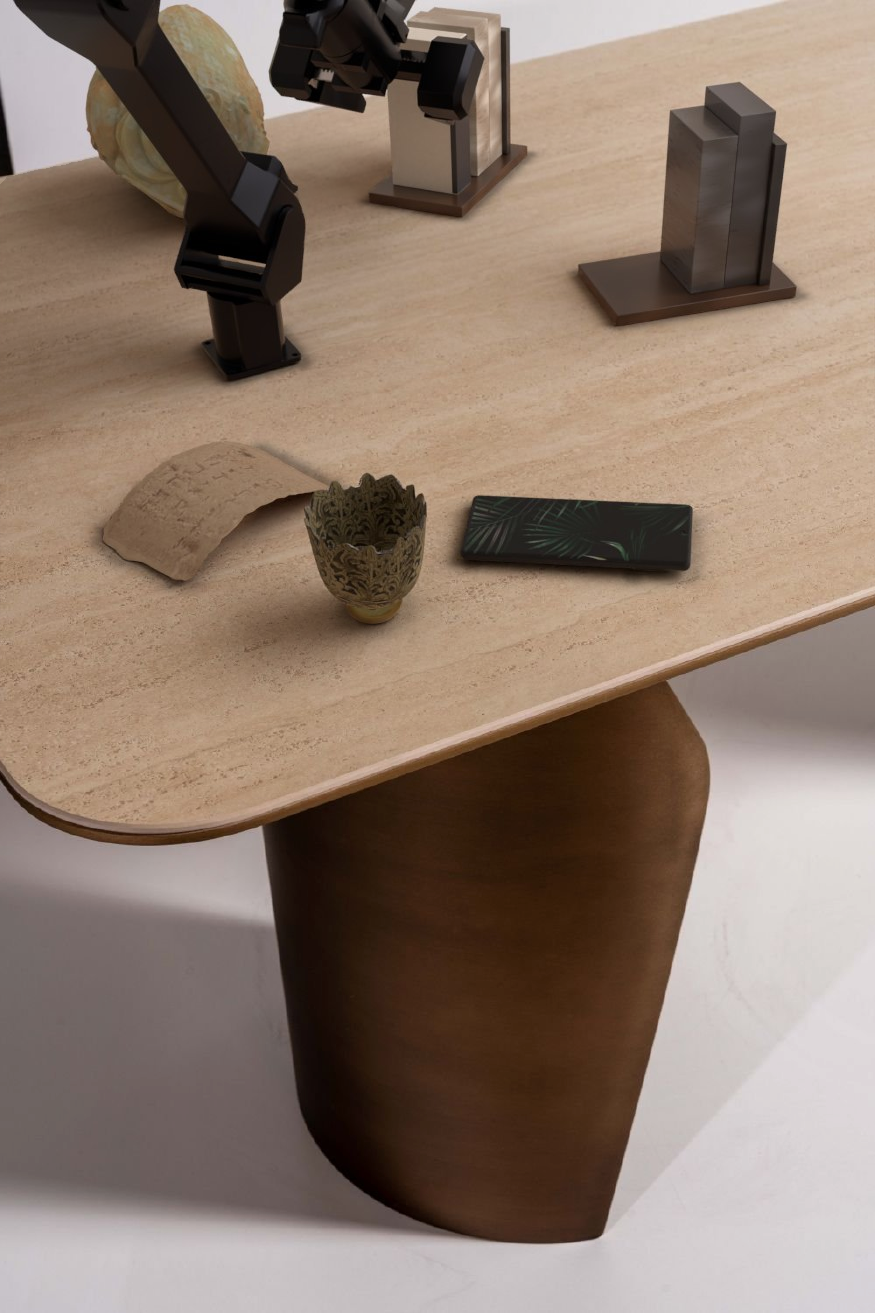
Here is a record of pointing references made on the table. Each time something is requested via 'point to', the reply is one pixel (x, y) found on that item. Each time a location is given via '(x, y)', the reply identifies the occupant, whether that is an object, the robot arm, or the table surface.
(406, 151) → the white book
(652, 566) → the smartphone
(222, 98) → the sculpture
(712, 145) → the grey book shelf
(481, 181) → the white book shelf
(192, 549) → the clay tablet
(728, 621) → the table surface
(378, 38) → the robot arm
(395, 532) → the cup
